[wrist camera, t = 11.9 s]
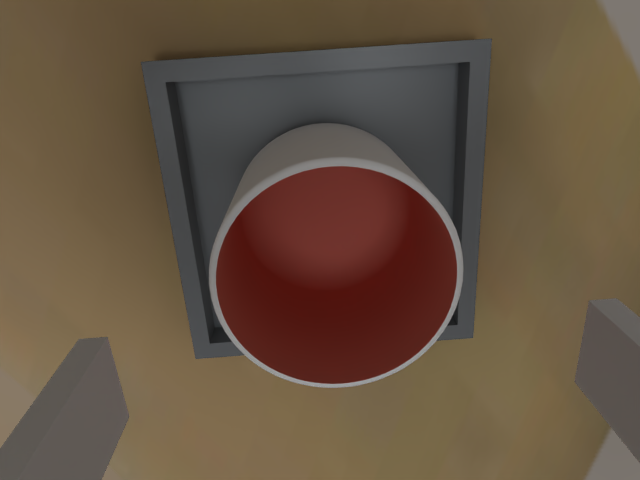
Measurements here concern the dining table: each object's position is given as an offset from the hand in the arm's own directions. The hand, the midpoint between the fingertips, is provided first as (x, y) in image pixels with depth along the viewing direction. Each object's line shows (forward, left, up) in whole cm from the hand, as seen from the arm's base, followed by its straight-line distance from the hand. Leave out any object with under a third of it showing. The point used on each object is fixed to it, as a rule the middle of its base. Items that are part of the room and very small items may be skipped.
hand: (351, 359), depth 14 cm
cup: (0, 0, -16) cm, 16 cm away
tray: (0, 0, -16) cm, 16 cm away
